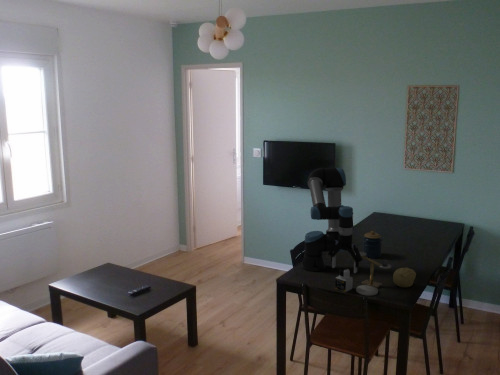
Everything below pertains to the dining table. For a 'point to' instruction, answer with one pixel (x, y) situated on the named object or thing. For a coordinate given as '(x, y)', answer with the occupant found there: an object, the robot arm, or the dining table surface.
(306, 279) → the dining table surface
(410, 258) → the dining table surface
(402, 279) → the olive brown dome
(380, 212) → the dining table surface
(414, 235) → the dining table surface
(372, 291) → the dish
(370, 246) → the canister
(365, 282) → the balance
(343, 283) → the grey piece
